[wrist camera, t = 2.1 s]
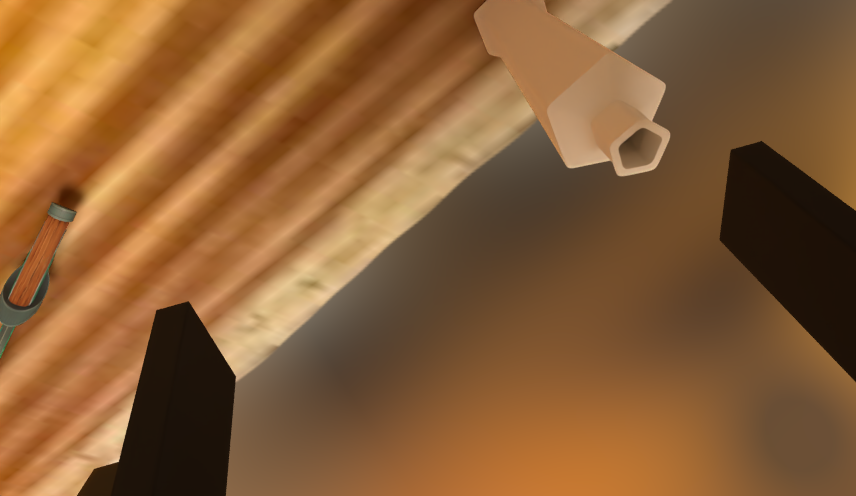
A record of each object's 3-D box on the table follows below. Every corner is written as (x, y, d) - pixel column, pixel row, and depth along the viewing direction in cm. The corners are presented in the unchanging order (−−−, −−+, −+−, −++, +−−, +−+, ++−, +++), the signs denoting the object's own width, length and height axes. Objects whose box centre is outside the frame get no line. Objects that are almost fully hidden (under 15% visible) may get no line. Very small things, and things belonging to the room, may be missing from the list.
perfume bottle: (451, 42, 33) (546, 182, 21) (494, -38, 31) (628, 68, 19) (519, 77, 35) (642, 224, 23) (564, 4, 33) (724, 125, 21)
